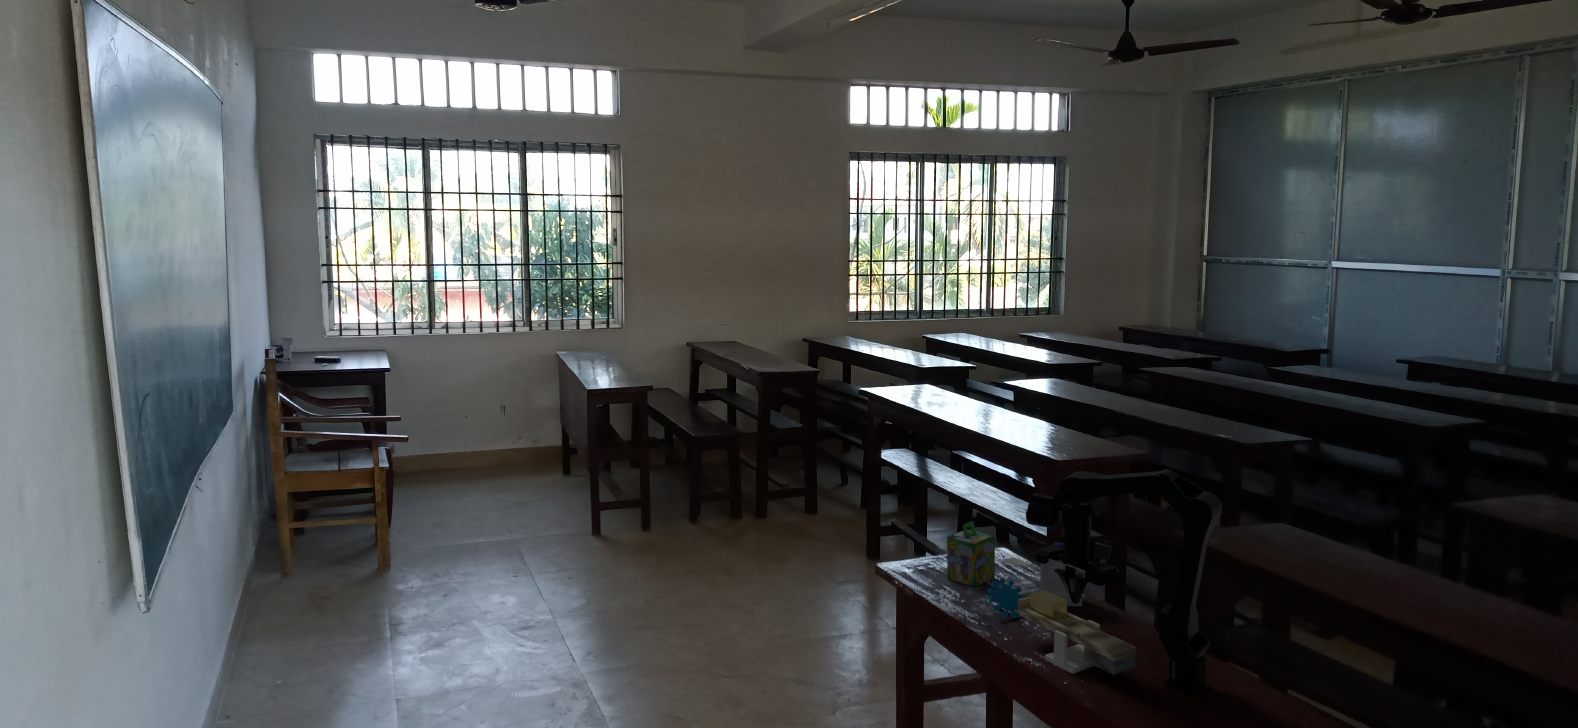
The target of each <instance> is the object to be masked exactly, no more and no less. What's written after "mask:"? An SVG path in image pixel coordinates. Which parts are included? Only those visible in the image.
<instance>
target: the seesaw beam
mask: <svg viewBox="0 0 1578 728" xmlns="http://www.w3.org/2000/svg"><path fill="white" fill-rule="evenodd" d="M1018 615H1020V616H1019V617H1022V618H1024V619H1025V620H1028V621H1030V622H1032V623H1034V624H1036V625H1038V626H1041V627H1043V628H1045V629H1047V630H1048V631H1050V632H1053V633H1054V631H1055V630H1058V631H1060V632H1062V633H1064V634H1066V635H1067V640H1070V641H1072V642H1075V643H1076V644H1077V645H1078V644H1080V645H1082V646H1084V661H1086V662H1089V663H1091V664H1093V665H1095V666H1094V667H1097V668H1099V669H1101V670H1103V671H1105V672H1107V673H1109V674H1110V675H1112V676H1116V675H1119V674H1122V673H1125V672H1128V671H1130V670H1133V669H1136V662H1137V661H1136V659H1137V658H1136V655H1137V653H1136V652H1137V651H1136V650H1137V649H1136V648H1137V647H1136V645H1133V644H1131V643H1128V642H1127V641H1124V640H1122V639H1120V638H1118V637H1116V636H1114V635H1111V634H1109V633H1106V632H1105V631H1102V630H1101V629H1100V630H1099V626H1097V625H1095V624H1093V623H1090V622H1088V620H1086V619H1084V618H1081V617H1079V616H1077V615H1075V614H1073V613H1070V612H1068V611H1067V618H1064V619H1061V620H1058V621H1054V620H1051V619H1049V618H1047V617H1045V616H1043V615H1041V614H1039V613H1036V612H1034V611H1032V610H1030V596H1028V597H1025V598H1021V599H1018V610H1017V616H1018Z"/></svg>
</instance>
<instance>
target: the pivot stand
mask: <svg viewBox="0 0 1578 728" xmlns="http://www.w3.org/2000/svg"><path fill="white" fill-rule="evenodd" d="M1087 621H1088V622H1090V623H1093V624H1095V625H1097V626H1099V630H1100V631H1101V624H1099V623H1097V622H1095V621H1093V620H1091V619H1088V620H1087ZM1044 660H1045V661H1047V662H1049V663H1051V664H1053V665H1055V666H1057V667H1059V668H1060V669H1062V670H1065V671H1067V672H1068V673H1070V674H1072V675H1073V674H1076V673H1079V672H1082V671H1085V670H1087V669H1086V668H1088V669H1090V668H1089V667H1091V668H1093V667H1092V666H1094V667H1096V666H1095V665H1093V664H1091V663H1089V662H1086V661H1084V646H1082V645H1080V644H1078V643H1077V644H1075V645H1072V646H1068V638H1067V635H1066V634H1064V633H1062V632H1060V631H1058V630H1055V631H1054V632H1053V652H1051V653H1047V654H1044ZM1084 669H1085V670H1084ZM1081 670H1082V671H1081Z"/></svg>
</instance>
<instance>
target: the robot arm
mask: <svg viewBox="0 0 1578 728" xmlns="http://www.w3.org/2000/svg"><path fill="white" fill-rule="evenodd" d="M1154 493H1157V494H1159V495H1161V496H1162V497H1163V498H1164V500H1165V501H1166V502H1167V503H1168V505H1169V506H1170V507H1171V508H1172V509H1173V510H1174V511H1176V512H1177V513H1178V514H1180V515H1181V518H1180V519H1181V530H1182V534H1183V544H1182V545H1183V546H1182V549H1181V555H1180V561H1179V566H1178V572H1177V576H1176V582H1175V588H1174V593H1173V599H1172V603H1168V604H1167V605H1166V606H1165V607H1164V608H1163V609H1161V610H1160V612H1159V616H1158V626H1157V628H1156V629H1155V631H1156V632H1158V639H1159V642H1160V643H1161V645H1162V646H1163V647H1164V648H1165V650H1166V655H1167V658H1168V665H1167V666H1168V667H1167V671H1168V672H1167V677H1168V678H1165V679H1164V680H1163V683H1164V684H1166V685H1167V686H1169V687H1172V688H1173V689H1175V690H1178V691H1180V692H1182V693H1184V694H1186V695H1189V696H1191V695H1194V694H1196V693H1197V694H1198V693H1199V692H1202V691H1204V690H1207V689H1209V688H1210V689H1211V688H1212V684H1211V683H1209V682H1207V661H1208V660H1207V659H1206V658H1205V657H1204V656H1203V655H1204V654H1205V653H1206V652H1207V651H1208V649H1209V647H1210V645H1211V642H1210V641H1209V640H1208V638H1207V637H1206V636H1205V635H1204V634H1203V633H1202V631H1201V630H1200V629H1199V614H1198V609H1197V600H1198V595H1199V590H1200V585H1201V579H1202V575H1203V570H1204V565H1205V558H1206V553H1207V547H1208V543H1209V539H1210V538H1211V535H1212V533H1213V532H1214V530H1215V528H1216V526H1217V524H1218V521H1219V519H1220V517H1221V514H1222V511H1223V503H1222V501H1221V500H1220V498H1219V497H1218V496H1217V495H1216V494H1214V493H1212V492H1210V491H1206V490H1204V489H1203V488H1201V487H1200V486H1199V485H1198V484H1195V483H1194V482H1192V481H1190V480H1188V479H1186V478H1184V477H1182V476H1181V475H1179V474H1178V473H1176V472H1175V471H1173V470H1171V469H1162V470H1157V471H1156V470H1155V471H1145V472H1132V473H1131V472H1130V473H1119V474H1103V473H1098V472H1095V471H1094V472H1093V471H1084V470H1079V471H1076V472H1074V473H1071V474H1070V475H1068V476H1066V477H1065V478H1063V479H1062V480H1061V482H1059V486H1058V492H1057V493H1056V494H1054V496H1050V495H1045V494H1041V493H1037V492H1034V493H1033V494H1031V495H1030V501H1029V503H1028V505H1027V509H1026V511H1025V519H1026V523H1027V524H1028V525H1031V526H1035V527H1036V526H1038V527H1041V528H1048V529H1053V530H1055V529H1057V528H1058V527H1059V526H1061V525H1062V535H1058V536H1057V538H1058V539H1057V541H1058V542H1059V543H1062V545H1061V546H1057V545H1054V543H1053V544H1049V545H1046V546H1042V547H1039V548H1038V549H1037V550H1036V552H1035V562H1037V563H1040V564H1041V563H1042V564H1047V563H1048V562H1049V559H1052V560H1054V561H1056V563H1057V569H1055V572H1056V573H1057V574H1058V576H1059V577H1060V579H1061V581H1062V583H1063V584H1064V586H1065V588H1066V590H1067V592H1068V594H1069V596H1070V598H1071V600H1072V602H1073V603H1074V604H1078V603H1079V601H1080V599H1081V596H1082V597H1083V594H1084V591H1085V589H1086V586H1087V585H1088V583H1089V584H1092V585H1095V586H1097V587H1103V586H1106V585H1109V584H1112V583H1116V582H1119V581H1120V570H1119V569H1118V568H1117V567H1116V566H1113V565H1110V564H1108V563H1105V562H1109V560H1110V556H1111V552H1112V549H1113V546H1110V545H1107V544H1104V543H1101V542H1098V541H1097V540H1096V537H1095V536H1093V535H1091V533H1092V517H1096V516H1097V515H1099V514H1100V513H1102V509H1101V508H1100V507H1099V506H1098V505H1096V504H1095V502H1094V501H1093V500H1095V499H1099V498H1102V497H1109V496H1122V495H1136V494H1137V495H1139V494H1140V495H1141V494H1154ZM1090 501H1091V502H1090ZM1086 502H1089V503H1088V504H1086ZM1098 559H1099V560H1104V561H1105V562H1101V563H1099V564H1093V563H1096V562H1098ZM1091 562H1093V563H1091Z"/></svg>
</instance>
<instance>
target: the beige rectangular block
mask: <svg viewBox="0 0 1578 728" xmlns="http://www.w3.org/2000/svg"><path fill="white" fill-rule="evenodd" d="M1029 594H1030V610H1032V611H1034V612H1036V613H1039V614H1041V615H1043V616H1045V617H1047V618H1049V619H1051V620H1054V621H1058V620H1061V619H1064V618H1067V612H1068V606H1067V600H1066V599H1064V598H1061V597H1059V596H1057V595H1054V594H1052V593H1050V592H1048V591H1045V590H1042V591H1041V590H1038V591H1036V592H1031V593H1029Z"/></svg>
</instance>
